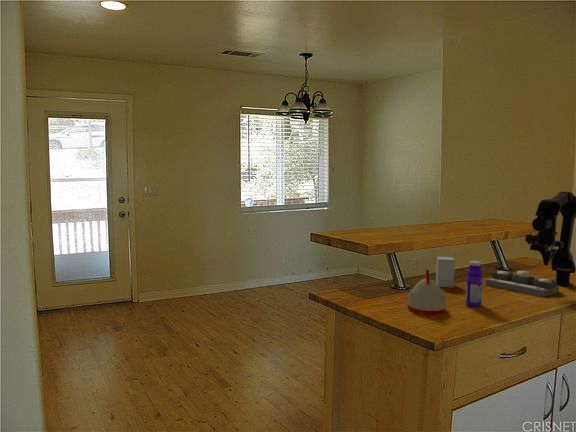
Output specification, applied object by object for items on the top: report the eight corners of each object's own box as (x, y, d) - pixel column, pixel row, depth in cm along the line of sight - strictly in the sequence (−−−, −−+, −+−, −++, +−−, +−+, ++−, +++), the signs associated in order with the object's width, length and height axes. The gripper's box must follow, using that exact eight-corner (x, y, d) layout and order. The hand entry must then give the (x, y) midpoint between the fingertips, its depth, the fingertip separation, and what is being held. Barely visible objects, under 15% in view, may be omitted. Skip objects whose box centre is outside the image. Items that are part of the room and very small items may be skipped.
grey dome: (444, 305, 191) (445, 267, 189) (447, 316, 178) (448, 275, 176) (407, 303, 194) (408, 266, 192) (407, 313, 181) (408, 273, 179)
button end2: (541, 283, 215) (542, 277, 214) (553, 285, 211) (553, 280, 211) (536, 285, 212) (536, 279, 211) (548, 287, 208) (548, 281, 207)
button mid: (520, 275, 222) (520, 270, 222) (531, 277, 218) (531, 272, 218) (515, 277, 219) (515, 271, 219) (526, 279, 215) (526, 273, 215)
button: (500, 275, 230) (500, 270, 229) (510, 277, 226) (511, 272, 225) (494, 277, 227) (495, 271, 226) (505, 279, 223) (505, 273, 222)
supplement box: (454, 287, 219) (455, 259, 217) (436, 286, 220) (437, 259, 219) (452, 283, 226) (453, 256, 225) (435, 283, 227) (436, 256, 226)
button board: (501, 280, 233) (501, 270, 232) (558, 291, 212) (559, 280, 212) (485, 284, 224) (485, 274, 223) (543, 297, 204) (544, 285, 203)
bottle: (479, 308, 187) (481, 263, 185) (463, 306, 190) (465, 262, 188) (482, 304, 193) (484, 260, 191) (467, 302, 196) (469, 259, 194)
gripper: (539, 226, 221) (537, 260, 222) (518, 229, 209) (516, 264, 211) (565, 228, 212) (563, 264, 214) (545, 231, 201) (543, 269, 202)
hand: (546, 265), depth 210 cm, fingers closed
